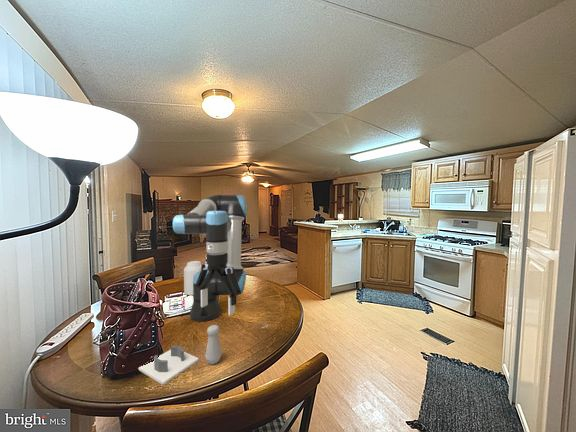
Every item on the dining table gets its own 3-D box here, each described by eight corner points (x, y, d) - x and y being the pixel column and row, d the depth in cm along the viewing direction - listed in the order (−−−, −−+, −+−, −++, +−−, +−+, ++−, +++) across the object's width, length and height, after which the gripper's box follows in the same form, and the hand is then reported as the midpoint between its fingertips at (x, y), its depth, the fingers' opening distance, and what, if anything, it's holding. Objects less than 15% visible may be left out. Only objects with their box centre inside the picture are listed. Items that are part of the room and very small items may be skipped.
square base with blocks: (138, 369, 84) (138, 358, 84) (174, 349, 96) (174, 338, 96) (162, 385, 77) (162, 372, 77) (198, 360, 89) (198, 349, 89)
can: (208, 289, 163) (207, 260, 162) (197, 296, 151) (196, 265, 150) (191, 288, 166) (191, 259, 165) (179, 294, 153) (179, 263, 153)
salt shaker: (205, 367, 85) (205, 332, 84) (204, 358, 90) (204, 324, 90) (222, 363, 87) (222, 328, 87) (220, 354, 93) (220, 321, 92)
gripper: (185, 251, 90) (185, 306, 91) (237, 258, 79) (237, 321, 80) (200, 248, 97) (201, 299, 98) (250, 254, 85) (250, 312, 86)
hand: (217, 309), depth 89 cm, fingers open, 13 cm apart
